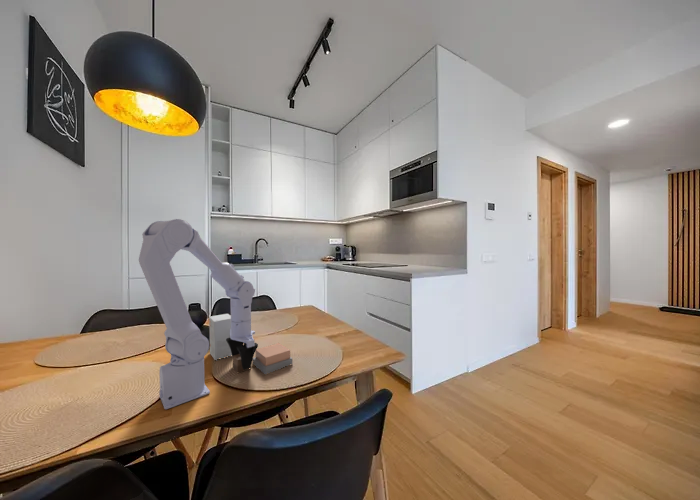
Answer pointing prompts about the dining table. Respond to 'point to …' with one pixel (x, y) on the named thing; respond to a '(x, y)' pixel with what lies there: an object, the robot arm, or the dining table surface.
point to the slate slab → (271, 367)
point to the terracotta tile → (272, 354)
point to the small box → (219, 335)
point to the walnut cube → (237, 363)
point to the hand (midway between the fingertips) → (241, 363)
